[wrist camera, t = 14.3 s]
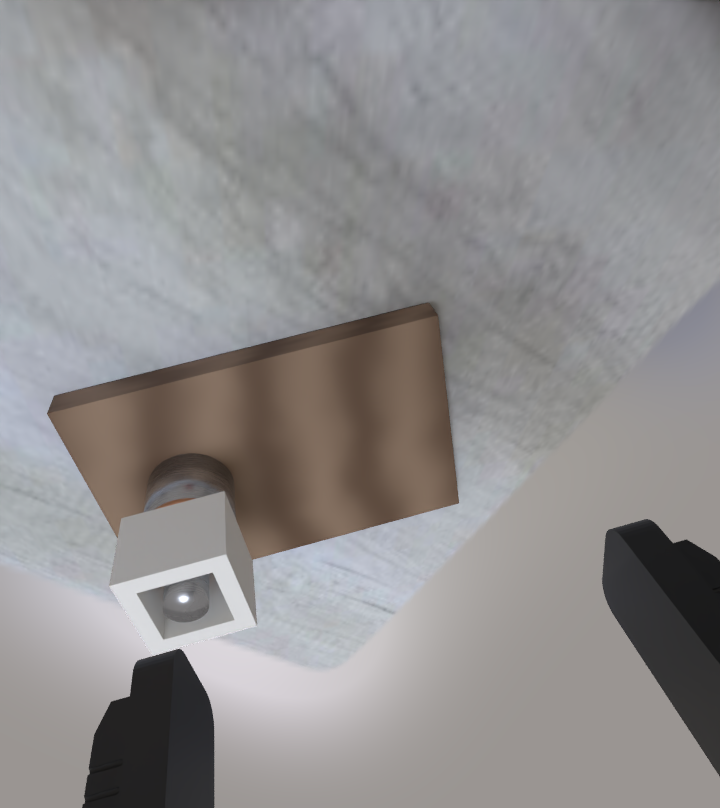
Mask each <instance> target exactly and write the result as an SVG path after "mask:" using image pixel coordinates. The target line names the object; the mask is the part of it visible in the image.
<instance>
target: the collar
mask: <svg viewBox="0 0 720 808" xmlns="http://www.w3.org/2000/svg"><path fill="white" fill-rule="evenodd" d="M205 574H209V609H208V611H207V613H206V614H205V615H204V616H203V617H201V618H200V619H198V620H195V621H192V622H176V621H173V620H171V619H169V618H167V617H166V616H165V614H164V613H163V596H164V586H165V585H169V584H173V583H176V582H180V581H183V580H187V579H191V578H194V577H198V576H202V575H205ZM109 587H110V588H111V590H112V592H113V593H114V595H115V596H116V598H117V600H118V601H119V603H120V605H121V606H122V608H123V609H124V611H125V613H126V614H127V616H128V617H129V619H130V621H131V622H132V624H133V626H134V627H135V629H136V630H137V632H138V634H139V635H140V637H141V639H142V640H143V642H144V644H145V645H146V647H147V648H148V650H149V652H150V653H151V655H155V654H159V653H163V652H166V651H170V650H173V649H177V648H181V647H184V646H187V645H191V644H195V643H198V642H202V641H206V640H209V639H213V638H216V637H220V636H223V635H227V634H230V633H234V632H238V631H241V630H245V629H248V628H252V627H255V626H257V618H256V604H255V590H254V576H253V561H252V558H251V556H250V553H249V551H248V548H247V546H246V543H245V541H244V538H243V536H242V533H241V531H240V528H239V526H238V523H237V521H236V518H235V516H234V513H233V511H232V508H231V506H230V503H229V501H228V498H227V496H226V493H225V491H223V492H219V493H215V494H211V495H208V496H204V497H200V498H196V499H192V500H189V501H185V502H181V503H177V504H174V505H170V506H166V507H162V508H158V509H155V510H151V511H147V512H143V513H140V514H136V515H132V516H128V517H124V518H121V523H120V529H119V534H118V540H117V545H116V551H115V556H114V562H113V568H112V573H111V579H110V584H109Z"/></svg>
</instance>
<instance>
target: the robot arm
mask: <svg viewBox="0 0 720 808" xmlns="http://www.w3.org/2000/svg"><path fill="white" fill-rule="evenodd" d="M602 584H603V590H604V594H605V597H606V600H607V603H608V605H609V607H610V609H611V611H612V613H613V614H614V616H615V618H616V619H617V621H618V622H619V624H620V625H621V627H622V628H623V630H624V631H625V633H626V635H627V636H628V638H629V639H630V641H631V642H632V644H633V645H634V647H635V648H636V650H637V651H638V653H639V654H640V656H641V657H642V659H643V660H644V662H645V663H646V665H647V666H648V668H649V669H650V671H651V673H652V674H653V675H654V677H655V679H656V680H657V682H658V683H659V685H660V686H661V688H662V689H663V691H664V692H665V694H666V695H667V697H668V698H669V700H670V701H671V703H672V704H673V706H674V707H675V709H676V711H677V712H678V713H679V715H680V717H681V718H682V720H683V721H684V723H685V724H686V725H687V727H688V729H689V730H690V732H691V733H692V735H693V736H694V738H695V739H696V741H697V742H698V744H699V745H700V747H701V749H702V750H703V751H704V753H705V755H706V756H707V758H708V759H709V760H710V762H711V764H712V765H713V767H714V768H715V770H716V771H717V773H718V774H719V776H720V561H719V560H718V559H717V558H716V557H715V556H713V555H711V554H710V553H708V552H706V551H705V550H703V549H701V548H700V547H698V546H696V545H695V544H693V543H692V542H690V541H688V540H684V541H680V542H676V543H672V542H671V541H670V540H669V538H668V537H667V536H666V535H665V534H664V533H663V531H662V530H661V529H660V528H659V527H658V526H657V525H656V524H655V523H654V522H653V521H651V520H648V519H645V520H642V521H638V522H635V523H631V524H627V525H624V526H620V527H617V528H613V529H610V530H608V531H607V533H606V539H605V552H604V565H603V578H602ZM89 770H90V774H89V775H88V777H87V783H86V790H85V795H84V797H85V804H83V807H82V808H214V721H213V714H212V708H211V704H210V700H209V698H208V695H207V693H206V691H205V689H204V687H203V685H202V684H201V682H200V680H199V678H198V677H197V675H196V673H195V671H194V670H193V668H192V666H191V664H190V662H189V661H188V659H187V657H186V655H185V654H184V652H183V651H182V650H181V649H177V650H173V651H170V652H166V653H163V654H159V655H156V656H152V657H148V658H145V659H141V660H139V661H137V662H136V664H135V666H134V669H133V676H132V685H131V693H130V697H126V698H123V699H119V700H116V701H112V702H111V703H110V705H109V707H108V709H107V711H106V713H105V715H104V717H103V719H102V721H101V723H100V725H99V726H98V729H97V730H96V733H95V735H94V740H93V746H92V752H91V758H90V764H89Z"/></svg>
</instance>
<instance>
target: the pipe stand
mask: <svg viewBox="0 0 720 808" xmlns="http://www.w3.org/2000/svg"><path fill="white" fill-rule="evenodd" d="M47 414H48V416H49V418H50V420H51V422H52V423H53V425H54V427H55V429H56V430H57V432H58V434H59V436H60V437H61V439H62V441H63V443H64V444H65V446H66V448H67V450H68V452H69V453H70V455H71V457H72V459H73V460H74V462H75V464H76V466H77V467H78V469H79V471H80V473H81V474H82V476H83V478H84V480H85V482H86V483H87V485H88V487H89V489H90V490H91V492H92V494H93V496H94V497H95V499H96V501H97V503H98V504H99V506H100V508H101V510H102V512H103V513H104V515H105V517H106V519H107V520H108V522H109V524H110V526H111V527H112V529H113V531H114V533H115V535H116V536H117V538H118V534H119V529H120V523H121V518H124V517H128V516H132V515H136V514H140V513H143V512H147V511H151V510H155V509H158V508H162V507H166V506H170V505H174V504H177V503H181V502H185V501H189V500H192V499H196V498H200V497H204V496H208V495H211V494H215V493H219V492H223V491H225V493H226V496H227V498H228V501H229V503H230V506H231V508H232V511H233V513H234V516H235V518H236V521H237V523H238V526H239V528H240V531H241V533H242V536H243V538H244V541H245V543H246V546H247V548H248V551H249V553H250V556H251V558H252V560H253V559H257V558H260V557H264V556H268V555H271V554H275V553H279V552H282V551H286V550H289V549H293V548H297V547H300V546H304V545H308V544H311V543H315V542H319V541H322V540H326V539H330V538H333V537H337V536H341V535H344V534H348V533H352V532H355V531H359V530H363V529H366V528H370V527H374V526H377V525H381V524H384V523H388V522H392V521H395V520H399V519H403V518H406V517H410V516H414V515H417V514H421V513H425V512H428V511H432V510H436V509H439V508H443V507H447V506H450V505H454V504H458V503H459V498H458V490H457V481H456V472H455V463H454V454H453V445H452V436H451V427H450V418H449V409H448V400H447V392H446V383H445V374H444V365H443V356H442V347H441V338H440V329H439V320H438V315H437V313H436V312H435V311H434V309H433V308H432V307H431V305H430V304H429V303H425V304H421V305H417V306H413V307H409V308H405V309H401V310H397V311H393V312H389V313H385V314H381V315H377V316H373V317H369V318H365V319H361V320H357V321H353V322H349V323H345V324H341V325H337V326H333V327H329V328H324V329H320V330H316V331H312V332H308V333H304V334H300V335H296V336H292V337H288V338H284V339H280V340H276V341H272V342H268V343H264V344H260V345H256V346H252V347H248V348H244V349H240V350H236V351H232V352H228V353H224V354H220V355H216V356H212V357H208V358H204V359H200V360H196V361H192V362H188V363H184V364H180V365H176V366H172V367H168V368H164V369H160V370H156V371H152V372H148V373H144V374H140V375H136V376H132V377H128V378H124V379H120V380H116V381H112V382H108V383H104V384H100V385H96V386H92V387H88V388H84V389H80V390H76V391H72V392H68V393H64V394H60V395H56V396H54V398H53V400H52V403H51V405H50V408H49V410H48V413H47ZM208 609H209V574H205V575H202V576H198V577H194V578H191V579H187V580H183V581H180V582H176V583H173V584H169V585H165V586H164V596H163V613H164V614H165V616H166V617H167V618H169V619H171V620H173V621H176V622H192V621H195V620H198V619H200V618H201V617H203V616H204V615H205V614H206V613H207V611H208Z"/></svg>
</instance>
